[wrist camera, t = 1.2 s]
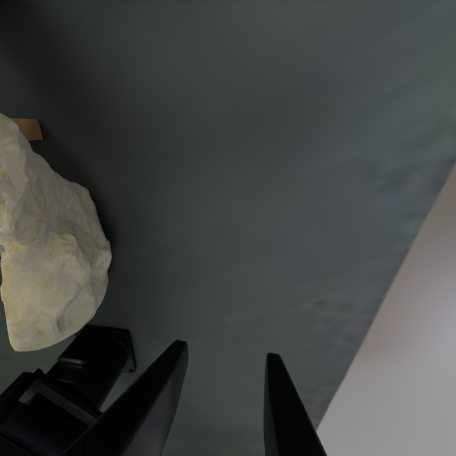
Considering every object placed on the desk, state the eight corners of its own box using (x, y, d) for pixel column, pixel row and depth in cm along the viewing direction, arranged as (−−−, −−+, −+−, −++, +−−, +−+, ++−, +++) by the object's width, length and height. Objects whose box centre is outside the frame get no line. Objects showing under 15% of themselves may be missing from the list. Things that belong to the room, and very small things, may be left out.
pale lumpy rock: (101, 299, 28) (149, 359, 16) (17, 320, 23) (0, 425, 12) (87, 165, 27) (129, 123, 15) (-5, 159, 22) (-48, 94, 10)
